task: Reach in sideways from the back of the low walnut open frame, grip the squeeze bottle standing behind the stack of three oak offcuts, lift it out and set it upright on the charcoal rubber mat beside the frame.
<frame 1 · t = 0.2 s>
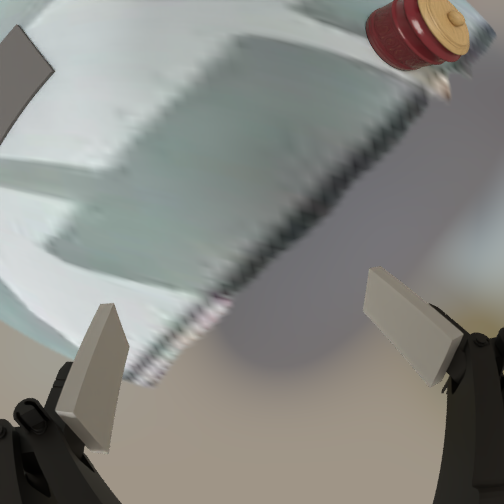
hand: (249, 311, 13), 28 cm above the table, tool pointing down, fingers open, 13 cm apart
canister: (392, 40, 33), on the table
charcoal mat: (1, 86, 24), on the table
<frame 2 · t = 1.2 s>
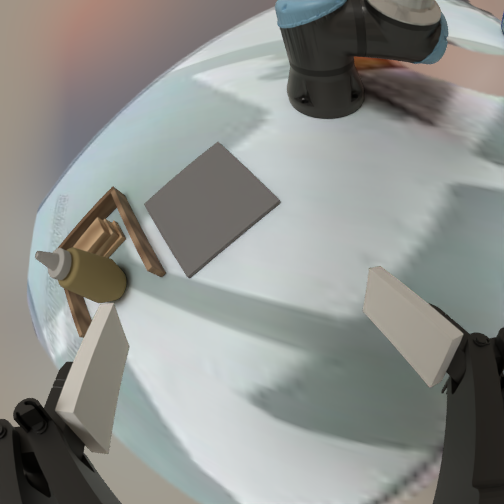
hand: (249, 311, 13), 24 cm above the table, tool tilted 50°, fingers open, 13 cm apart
offcut low: (105, 252, 50), on the table, touching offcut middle
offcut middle: (98, 249, 48), point 1 cm above the table, touching offcut low, offcut top
squeeze bottle: (116, 285, 46), on the table
charcoal mat: (205, 203, 45), on the table
walnut open frame: (107, 264, 48), on the table
offcut top: (91, 246, 46), point 3 cm above the table, touching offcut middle
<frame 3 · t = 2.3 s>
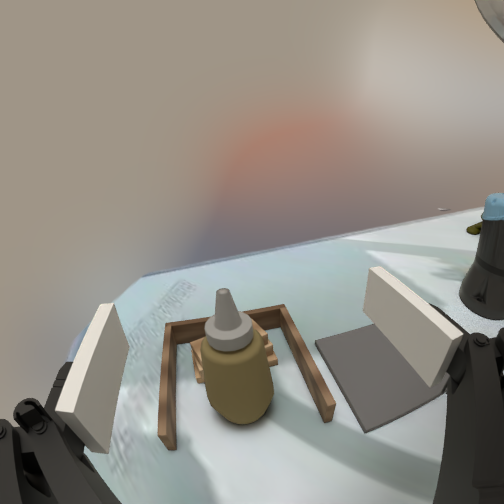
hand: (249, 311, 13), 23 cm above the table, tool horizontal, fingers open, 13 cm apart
squeeze bottle: (243, 407, 32), on the table
charcoal mat: (390, 364, 35), on the table
walnut open frame: (237, 379, 36), on the table
offcut top: (230, 348, 38), point 3 cm above the table, touching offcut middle
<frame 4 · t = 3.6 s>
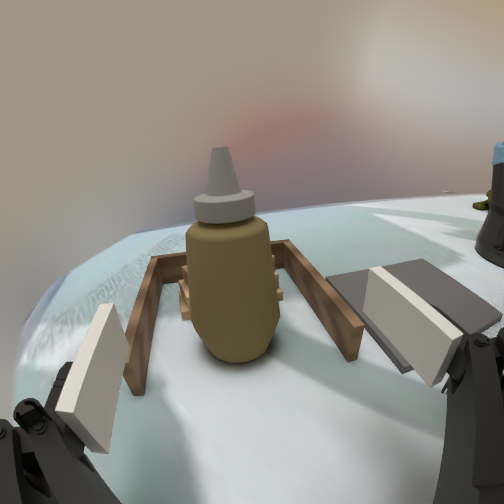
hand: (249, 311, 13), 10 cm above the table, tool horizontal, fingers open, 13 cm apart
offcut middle: (229, 292, 33), point 1 cm above the table, touching offcut low, offcut top
squeeze bottle: (239, 345, 26), on the table
charcoal mat: (416, 302, 29), on the table
walnut open frame: (232, 315, 31), on the table
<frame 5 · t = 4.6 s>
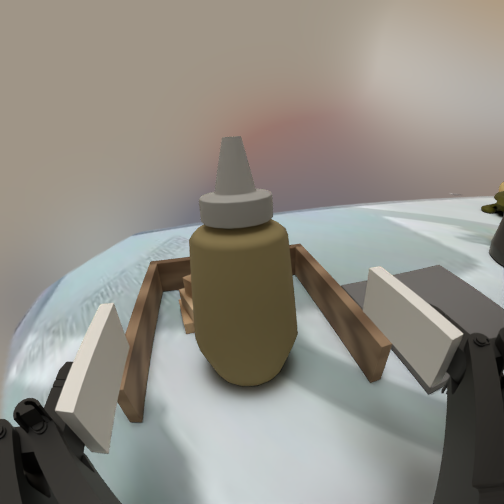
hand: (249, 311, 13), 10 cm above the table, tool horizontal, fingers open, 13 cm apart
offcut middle: (235, 300, 30), point 1 cm above the table, touching offcut low, offcut top
squeeze bottle: (249, 364, 23), on the table
charcoal mat: (437, 313, 26), on the table
walnut open frame: (240, 329, 27), on the table
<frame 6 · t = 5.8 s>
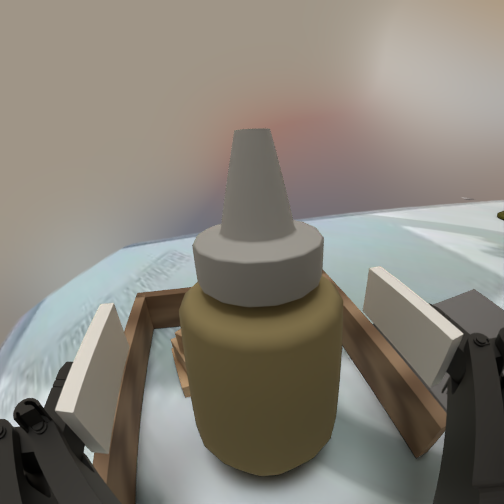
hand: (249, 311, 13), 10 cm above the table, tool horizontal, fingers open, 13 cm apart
offcut low: (245, 364, 24), on the table, touching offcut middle
squeeze bottle: (266, 442, 15), on the table
charcoal mat: (481, 353, 18), on the table
walnut open frame: (253, 389, 20), on the table
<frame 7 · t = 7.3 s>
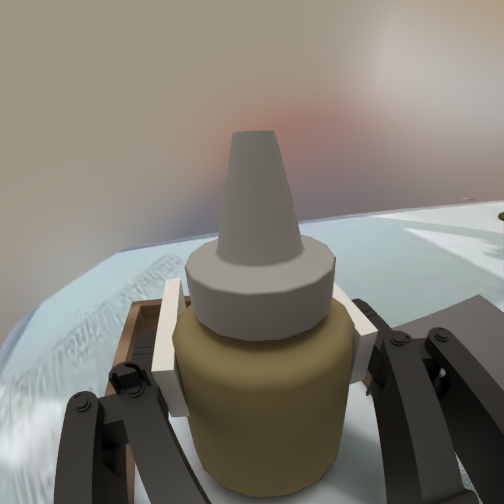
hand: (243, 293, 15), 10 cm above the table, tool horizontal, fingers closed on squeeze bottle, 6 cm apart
squeeze bottle: (268, 460, 14), on the table, touching gripper
charcoal mat: (487, 362, 17), on the table
walnut open frame: (253, 404, 19), on the table
when the fingers open (12 cm above the table, at t = 13.9 s): squeeze bottle drops 1 cm, resting on charcoal mat.
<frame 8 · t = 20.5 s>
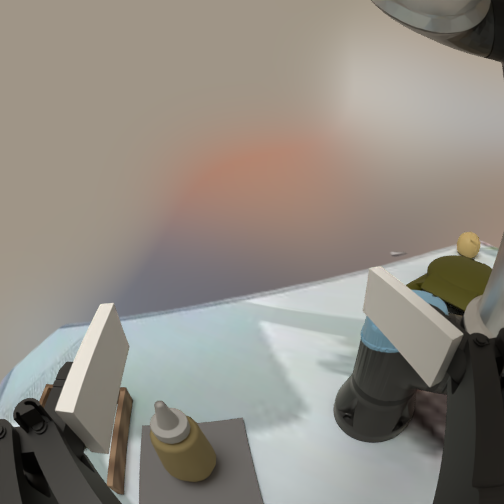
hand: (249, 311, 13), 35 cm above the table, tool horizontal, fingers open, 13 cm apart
squeeze bottle: (194, 467, 32), point 1 cm above the table, touching charcoal mat
charcoal mat: (195, 468, 32), on the table
walnut open frame: (80, 440, 33), on the table
sculpture: (466, 255, 95), on the table
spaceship: (460, 293, 71), on the table
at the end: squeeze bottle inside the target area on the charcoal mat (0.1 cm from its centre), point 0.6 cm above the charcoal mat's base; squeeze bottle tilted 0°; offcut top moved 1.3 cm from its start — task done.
